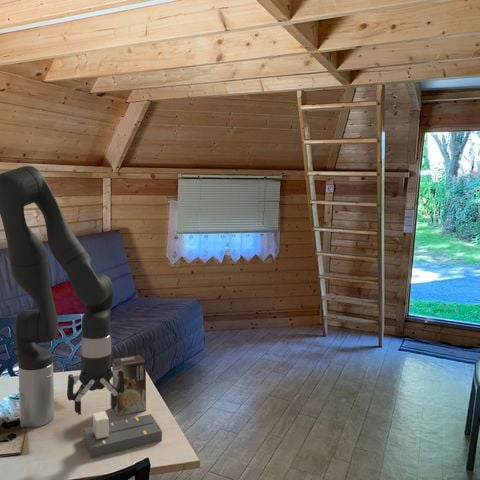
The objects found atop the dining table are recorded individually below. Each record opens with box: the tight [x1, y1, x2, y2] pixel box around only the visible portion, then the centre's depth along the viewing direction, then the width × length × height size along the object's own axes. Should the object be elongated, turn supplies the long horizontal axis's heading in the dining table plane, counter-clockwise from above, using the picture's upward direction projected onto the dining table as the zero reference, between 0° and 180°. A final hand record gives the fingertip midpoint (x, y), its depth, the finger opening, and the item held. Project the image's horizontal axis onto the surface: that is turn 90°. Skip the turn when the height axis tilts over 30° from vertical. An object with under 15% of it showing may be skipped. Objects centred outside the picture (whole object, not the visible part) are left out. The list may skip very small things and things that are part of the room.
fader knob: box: [92, 410, 110, 439], centre depth 126 cm, size 3×4×5 cm
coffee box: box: [111, 354, 147, 417], centre depth 145 cm, size 9×6×16 cm
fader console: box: [83, 413, 163, 460], centre depth 129 cm, size 19×10×3 cm, turn 118°
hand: (96, 410), depth 123 cm, fingers open, 8 cm apart
